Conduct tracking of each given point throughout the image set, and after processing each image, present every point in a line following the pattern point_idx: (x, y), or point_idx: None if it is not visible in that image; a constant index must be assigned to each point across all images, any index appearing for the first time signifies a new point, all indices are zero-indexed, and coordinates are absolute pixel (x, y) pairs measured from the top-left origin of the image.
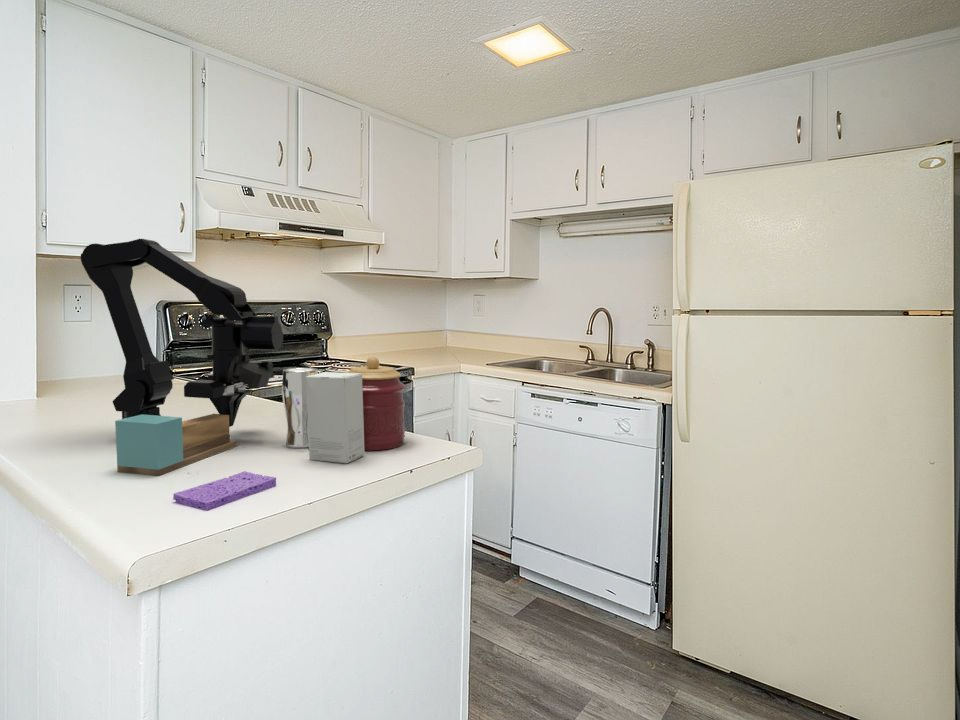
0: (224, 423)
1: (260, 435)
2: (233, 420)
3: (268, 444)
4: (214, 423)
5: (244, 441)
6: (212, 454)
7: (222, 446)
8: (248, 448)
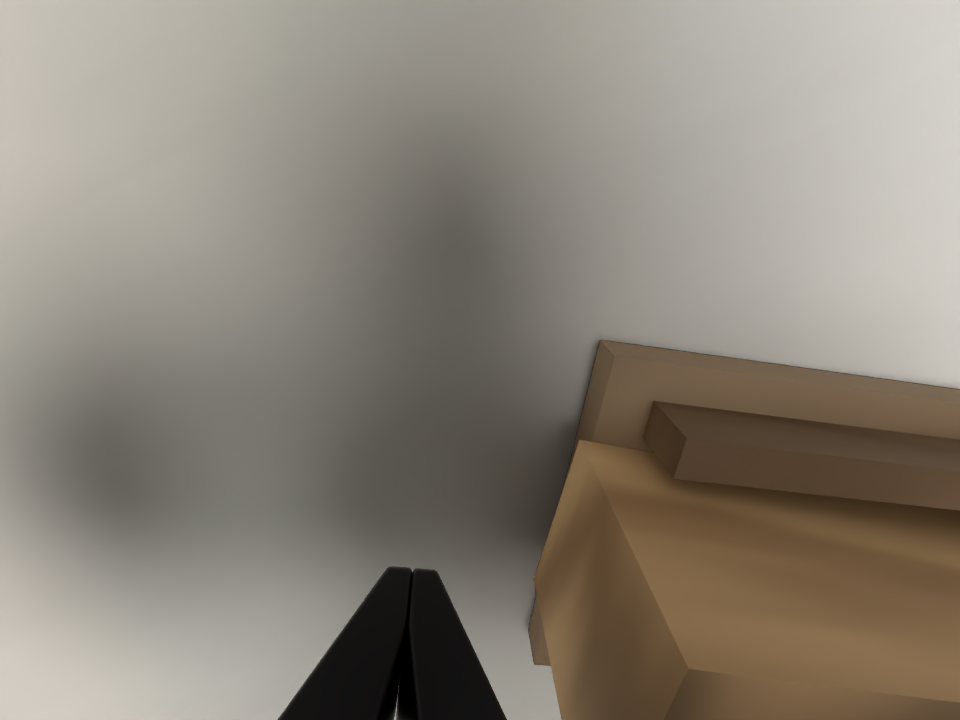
0: (731, 584)
1: (136, 326)
2: (395, 607)
3: (492, 46)
4: (934, 640)
5: (413, 361)
6: (917, 385)
7: (821, 385)
8: (675, 194)
